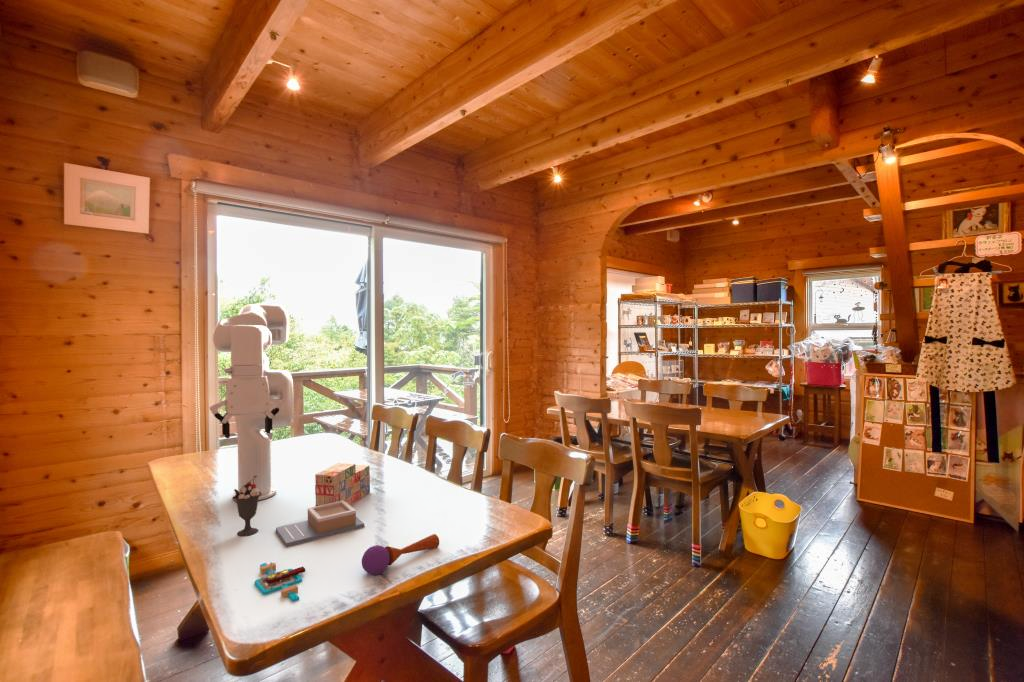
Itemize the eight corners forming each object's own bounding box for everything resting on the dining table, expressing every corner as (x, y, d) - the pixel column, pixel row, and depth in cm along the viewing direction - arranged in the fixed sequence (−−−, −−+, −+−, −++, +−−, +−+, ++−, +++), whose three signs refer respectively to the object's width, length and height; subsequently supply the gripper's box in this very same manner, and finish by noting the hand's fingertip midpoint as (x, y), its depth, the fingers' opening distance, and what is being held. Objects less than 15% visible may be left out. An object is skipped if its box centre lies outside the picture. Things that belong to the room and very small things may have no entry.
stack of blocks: (353, 491, 162) (353, 455, 162) (370, 492, 161) (370, 456, 160) (315, 515, 141) (314, 473, 141) (334, 516, 140) (333, 474, 139)
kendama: (444, 535, 118) (373, 557, 103) (440, 558, 118) (368, 583, 103) (429, 524, 122) (359, 544, 107) (425, 546, 122) (354, 569, 107)
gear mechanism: (287, 560, 114) (244, 574, 107) (287, 538, 114) (244, 550, 107) (322, 593, 99) (275, 611, 93) (322, 567, 99) (275, 584, 93)
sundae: (267, 529, 131) (267, 474, 130) (246, 539, 124) (246, 481, 124) (249, 525, 133) (248, 472, 132) (227, 535, 126) (227, 479, 126)
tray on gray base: (275, 531, 129) (275, 513, 129) (349, 514, 141) (349, 497, 141) (286, 547, 120) (286, 528, 119) (364, 527, 132) (364, 509, 132)
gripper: (211, 374, 119) (211, 442, 120) (285, 370, 130) (286, 433, 130) (207, 372, 125) (208, 437, 126) (279, 369, 136) (279, 428, 136)
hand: (247, 435), depth 128 cm, fingers open, 9 cm apart
